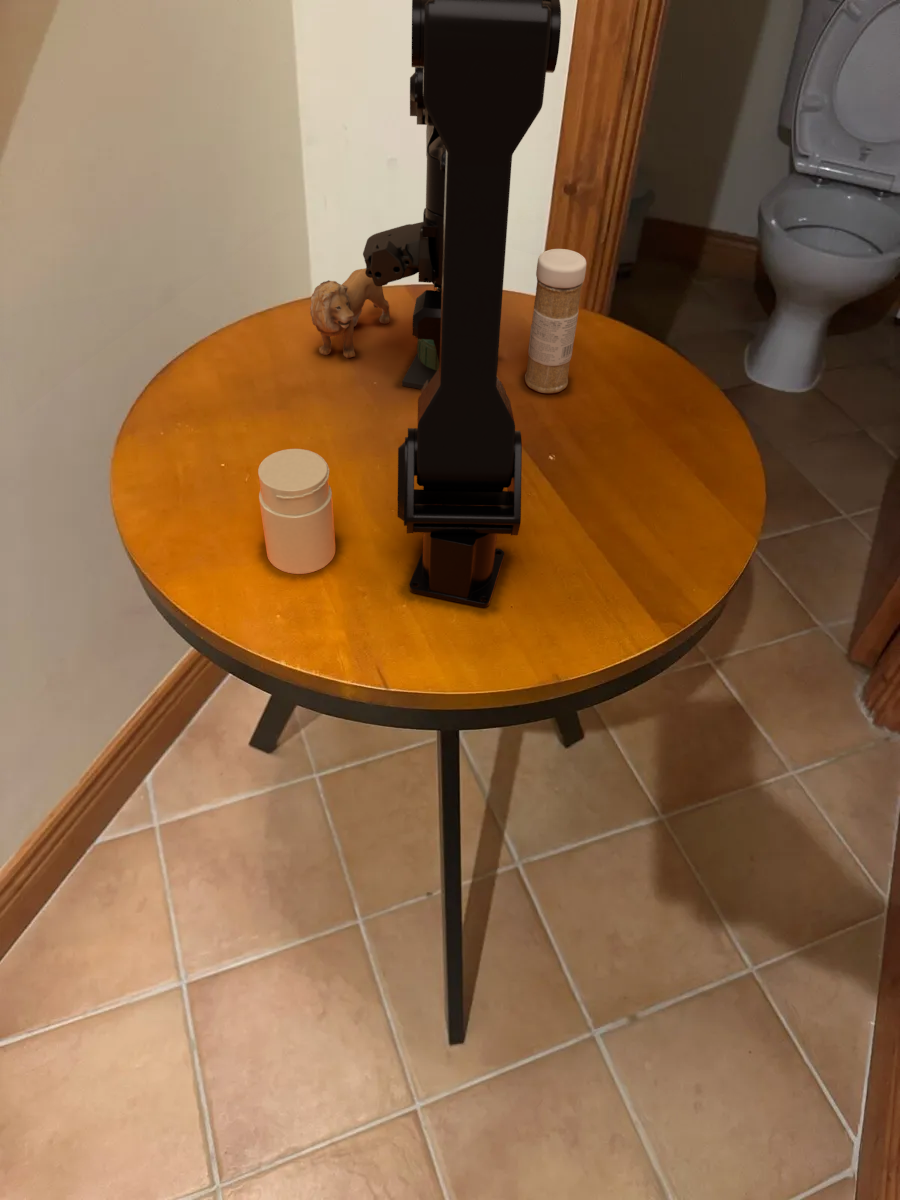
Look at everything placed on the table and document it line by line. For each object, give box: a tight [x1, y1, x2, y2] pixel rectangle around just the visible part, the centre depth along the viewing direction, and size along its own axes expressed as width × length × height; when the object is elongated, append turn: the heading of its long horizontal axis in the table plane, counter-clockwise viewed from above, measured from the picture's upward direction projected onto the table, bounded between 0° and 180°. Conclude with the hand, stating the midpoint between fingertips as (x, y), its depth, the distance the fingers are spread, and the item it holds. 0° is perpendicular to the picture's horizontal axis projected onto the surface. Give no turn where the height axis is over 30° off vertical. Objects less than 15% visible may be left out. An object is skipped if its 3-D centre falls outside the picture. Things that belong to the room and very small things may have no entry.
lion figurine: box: [309, 267, 391, 359], centre depth 95 cm, size 15×5×9 cm, turn 164°
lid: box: [416, 338, 439, 371], centre depth 92 cm, size 6×6×3 cm
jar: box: [257, 448, 337, 575], centre depth 71 cm, size 6×6×8 cm
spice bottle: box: [524, 248, 587, 394], centre depth 89 cm, size 5×5×13 cm
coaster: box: [401, 352, 437, 390], centre depth 94 cm, size 8×8×1 cm
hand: (450, 358), depth 93 cm, fingers closed on lid, 6 cm apart
